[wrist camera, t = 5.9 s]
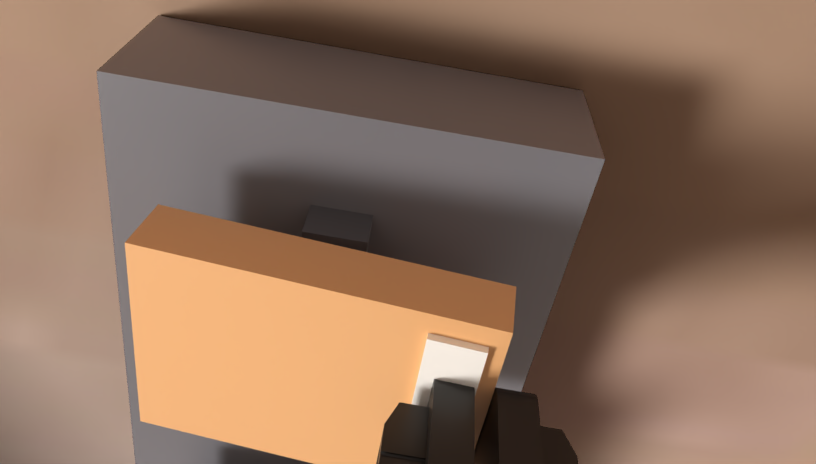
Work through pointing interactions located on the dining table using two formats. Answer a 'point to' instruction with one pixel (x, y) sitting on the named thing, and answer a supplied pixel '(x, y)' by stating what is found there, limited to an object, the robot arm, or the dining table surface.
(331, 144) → the large grey rectangular block
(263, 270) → the orange slab
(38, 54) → the dining table surface
